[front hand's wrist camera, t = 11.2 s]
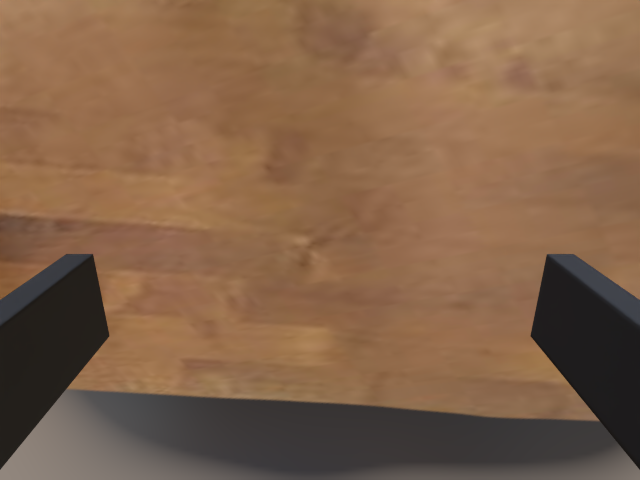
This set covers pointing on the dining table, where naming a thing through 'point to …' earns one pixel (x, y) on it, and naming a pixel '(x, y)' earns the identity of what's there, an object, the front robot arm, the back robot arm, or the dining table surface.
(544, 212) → the dining table surface
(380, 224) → the dining table surface
